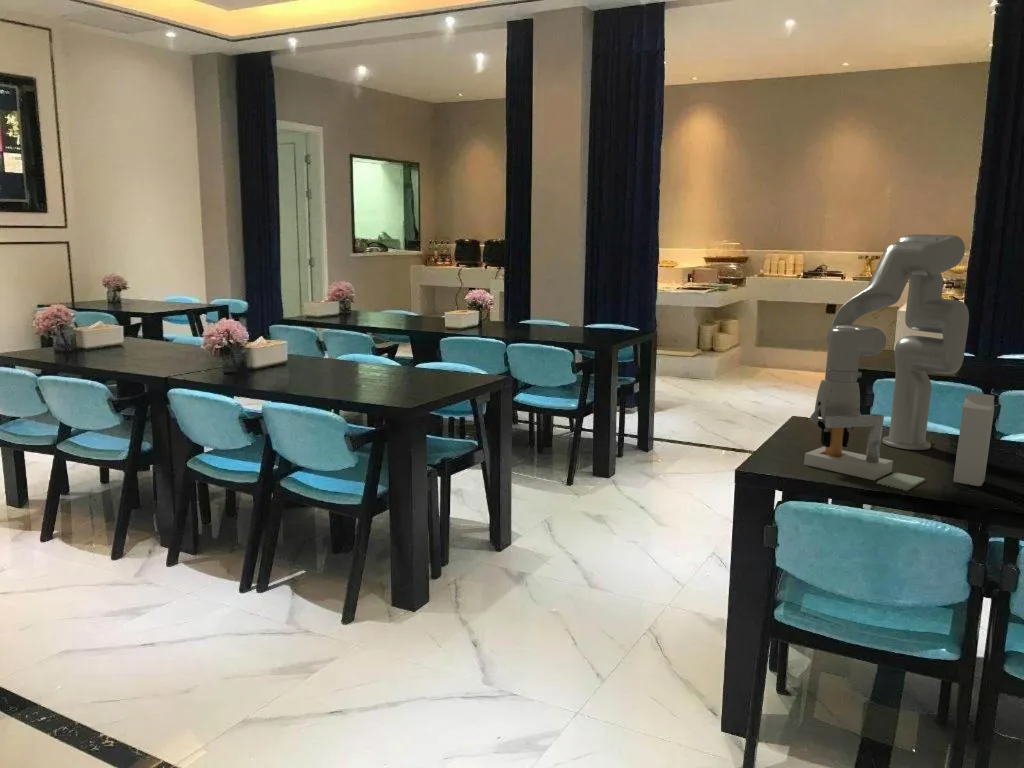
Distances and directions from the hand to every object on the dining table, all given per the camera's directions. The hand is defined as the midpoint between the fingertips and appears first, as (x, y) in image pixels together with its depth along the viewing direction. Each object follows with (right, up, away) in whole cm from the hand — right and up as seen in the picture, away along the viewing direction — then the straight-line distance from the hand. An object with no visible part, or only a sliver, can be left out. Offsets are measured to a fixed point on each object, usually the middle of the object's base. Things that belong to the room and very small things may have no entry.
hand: (834, 445), depth 209 cm
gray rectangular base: (+3, -6, -2) cm, 7 cm away
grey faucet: (+1, -4, -8) cm, 9 cm away
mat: (+11, -8, -13) cm, 19 cm away
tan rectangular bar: (0, -5, +1) cm, 5 cm away
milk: (+29, -8, -11) cm, 32 cm away
